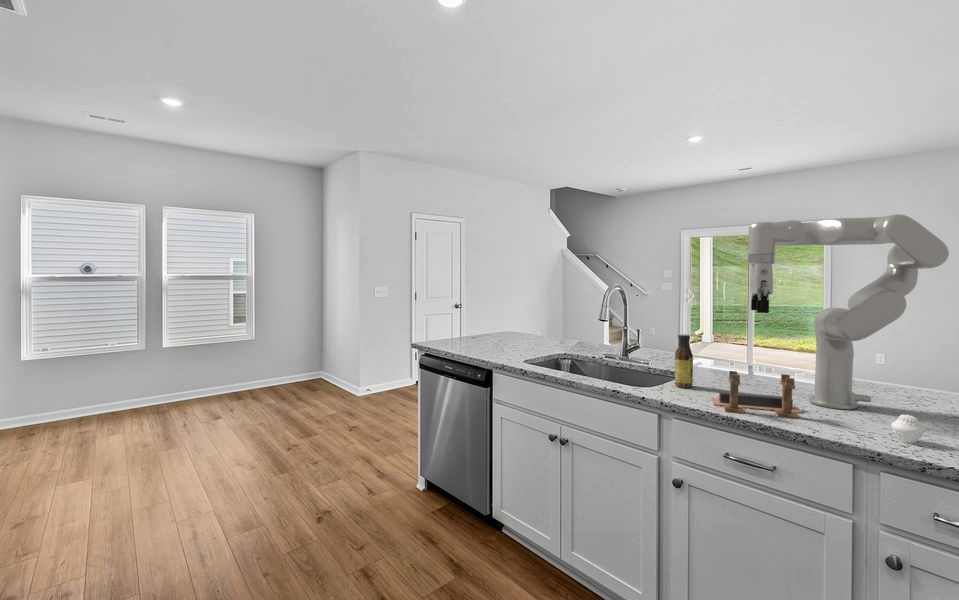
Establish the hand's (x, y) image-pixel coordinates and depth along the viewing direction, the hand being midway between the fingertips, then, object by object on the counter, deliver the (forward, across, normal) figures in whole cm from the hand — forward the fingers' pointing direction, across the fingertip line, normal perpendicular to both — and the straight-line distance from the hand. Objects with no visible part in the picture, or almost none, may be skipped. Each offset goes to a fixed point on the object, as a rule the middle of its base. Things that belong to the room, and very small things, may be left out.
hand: (759, 311), depth 148 cm
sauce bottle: (+31, +12, +22) cm, 39 cm away
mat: (+30, -7, +2) cm, 31 cm away
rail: (+30, -7, +2) cm, 31 cm away
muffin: (+31, -28, -28) cm, 50 cm away
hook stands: (+30, -15, +2) cm, 34 cm away
